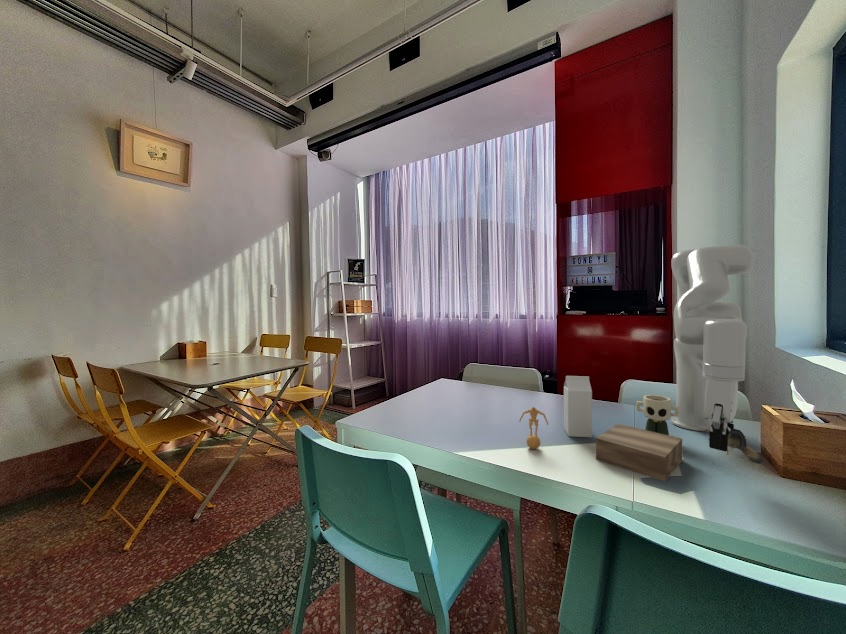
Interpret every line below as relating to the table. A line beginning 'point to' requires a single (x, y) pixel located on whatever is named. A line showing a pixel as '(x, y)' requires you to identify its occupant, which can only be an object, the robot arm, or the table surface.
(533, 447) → the figurine
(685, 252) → the robot arm
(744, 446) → the eagle figurine
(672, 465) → the walnut block
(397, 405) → the table surface
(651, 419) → the character mug
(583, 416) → the milk carton
